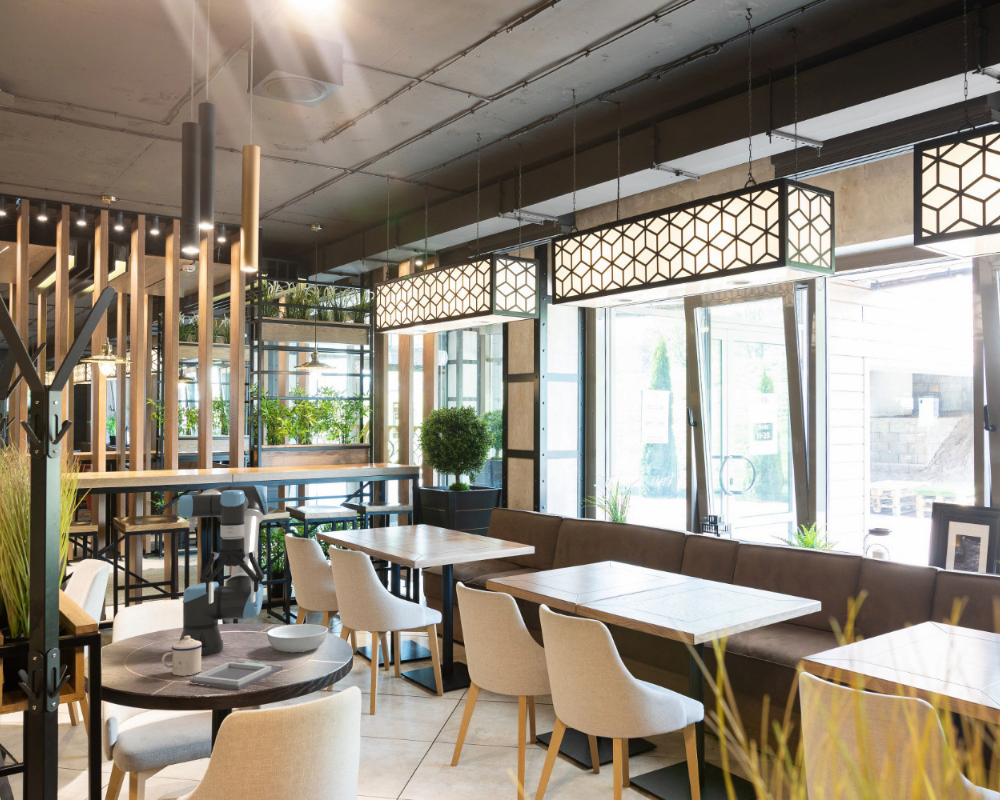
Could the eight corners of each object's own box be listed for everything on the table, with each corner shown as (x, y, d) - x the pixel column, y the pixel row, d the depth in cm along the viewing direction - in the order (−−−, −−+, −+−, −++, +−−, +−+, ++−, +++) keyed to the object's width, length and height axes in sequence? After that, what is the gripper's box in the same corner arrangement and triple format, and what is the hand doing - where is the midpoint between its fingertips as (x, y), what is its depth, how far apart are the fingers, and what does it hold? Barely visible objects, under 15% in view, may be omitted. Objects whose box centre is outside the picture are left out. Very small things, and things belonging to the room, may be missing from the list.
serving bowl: (339, 649, 286) (339, 630, 286) (286, 661, 271) (286, 641, 272) (308, 639, 301) (308, 620, 301) (256, 650, 286) (256, 630, 286)
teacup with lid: (198, 667, 266) (199, 631, 266) (204, 674, 258) (204, 637, 258) (159, 673, 259) (160, 636, 260) (164, 680, 252) (164, 642, 252)
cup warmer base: (189, 684, 248) (189, 676, 248) (236, 664, 268) (236, 657, 269) (238, 690, 242) (238, 682, 242) (282, 669, 262) (282, 662, 262)
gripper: (190, 539, 262) (189, 605, 262) (268, 538, 264) (268, 604, 263) (197, 536, 270) (197, 600, 269) (273, 535, 271) (273, 599, 271)
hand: (232, 602), depth 266 cm, fingers open, 13 cm apart
